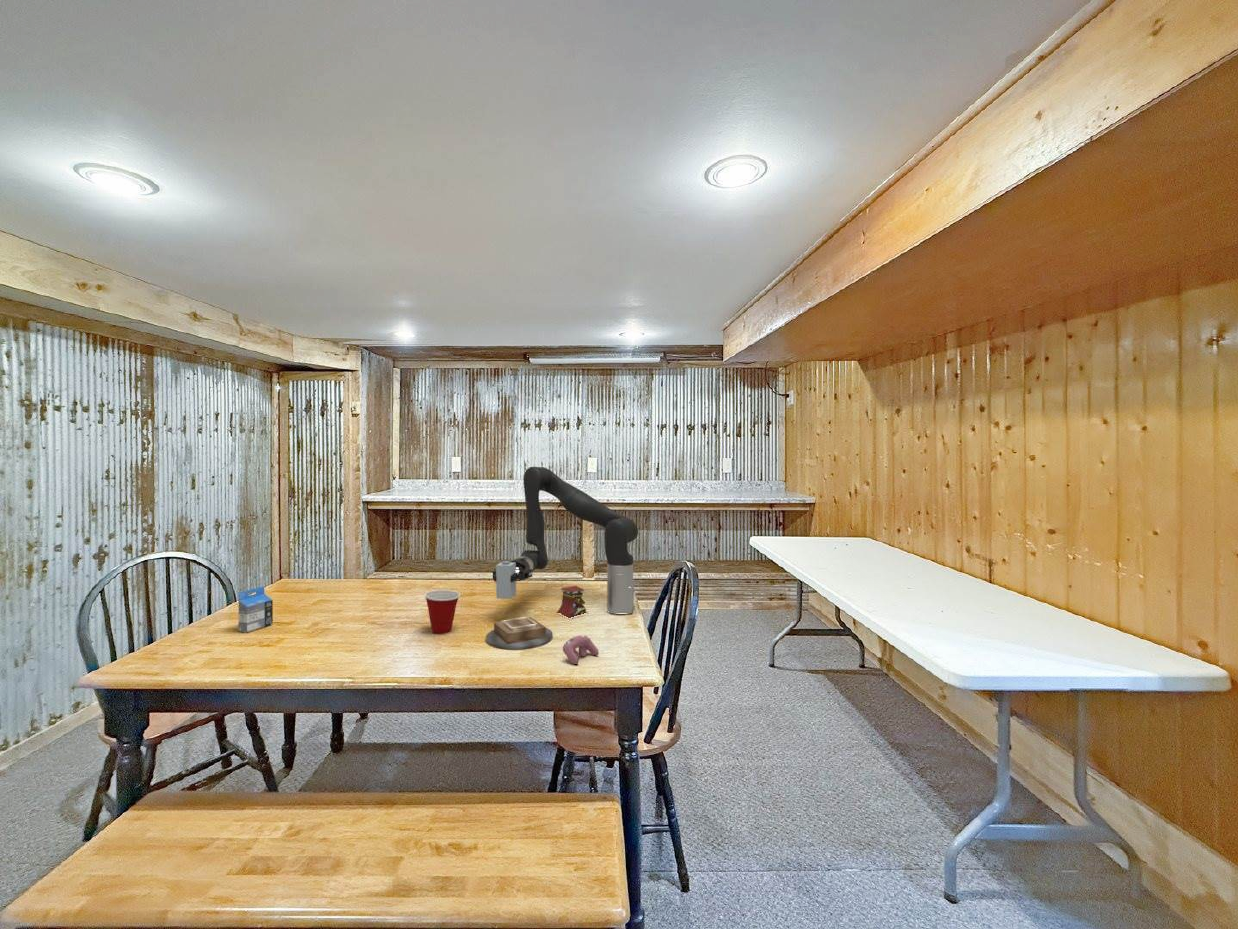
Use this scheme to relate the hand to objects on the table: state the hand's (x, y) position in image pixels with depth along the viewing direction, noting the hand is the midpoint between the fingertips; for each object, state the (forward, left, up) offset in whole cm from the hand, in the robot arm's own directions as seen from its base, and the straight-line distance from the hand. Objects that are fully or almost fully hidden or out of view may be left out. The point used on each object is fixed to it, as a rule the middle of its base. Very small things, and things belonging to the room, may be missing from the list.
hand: (503, 578), depth 182 cm
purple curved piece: (-32, +25, -15) cm, 43 cm away
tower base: (-10, +12, -15) cm, 22 cm away
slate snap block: (0, -3, -7) cm, 7 cm away
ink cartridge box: (+75, +18, -15) cm, 79 cm away
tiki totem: (-20, -15, -15) cm, 29 cm away
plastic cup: (+16, +10, -15) cm, 24 cm away
